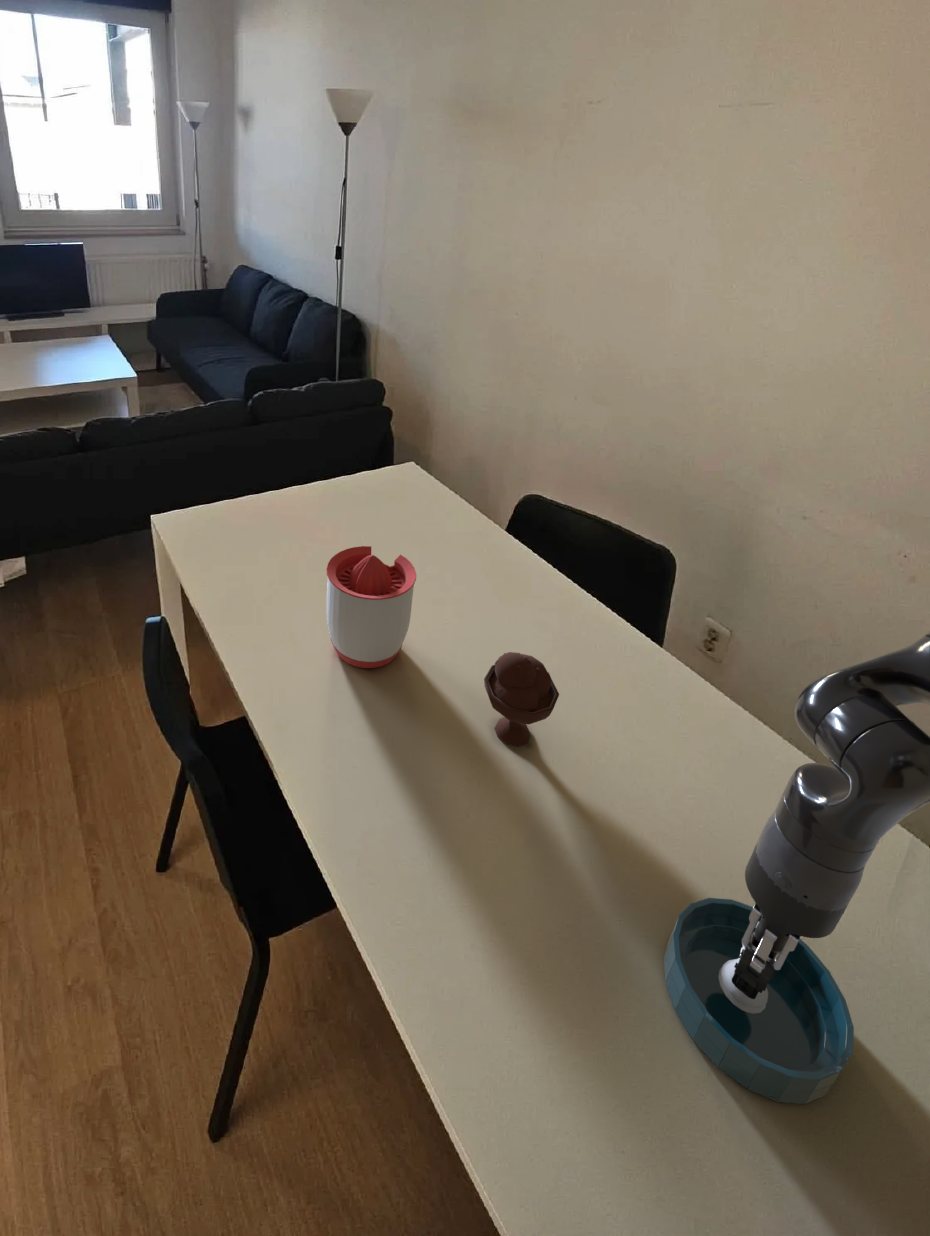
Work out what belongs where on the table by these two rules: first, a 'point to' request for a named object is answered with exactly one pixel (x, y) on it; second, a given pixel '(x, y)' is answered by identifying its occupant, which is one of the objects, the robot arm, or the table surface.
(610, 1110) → the table surface
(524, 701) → the ice cream bowl
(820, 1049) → the shallow round dish
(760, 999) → the rook chess piece
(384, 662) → the citrus juicer
